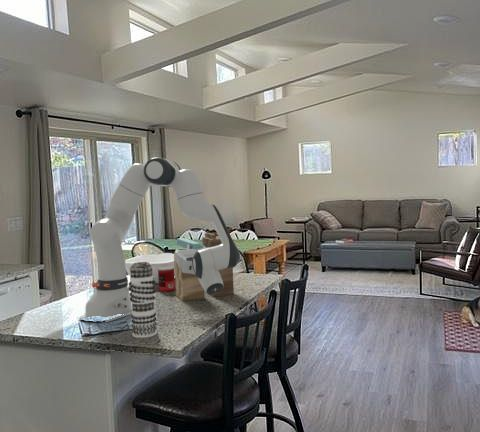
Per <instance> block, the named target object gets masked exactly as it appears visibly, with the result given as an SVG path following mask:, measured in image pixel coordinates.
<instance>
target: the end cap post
mask: <svg viewBox="0 0 480 432" xmlns="http://www.w3.org/2000/svg"><path fill="white" fill-rule="evenodd" d="M216 234H217V235H216ZM216 234H214V233H210V232H204V236H203V237H202V238H201V239H202V245H203V246H205V247H206V248H208V247H214V246H217V245H220V244H221V243H222V242H221V240H220V238H219V236H218V233H217V232H216ZM218 271H219V273H220V275H221V278H222V281H223V285H224V287H223V289H222V290H221V291H220V292H218V293H215V294H208V295H210V297H213V298H215V297H223V296H229V295H231V296H232V295H234V292H235V291H234V267H232V268H227V269H222V270H218Z"/></svg>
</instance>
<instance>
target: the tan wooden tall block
mask: <svg viewBox="0 0 480 432" xmlns="http://www.w3.org/2000/svg"><path fill="white" fill-rule="evenodd" d="M177 250H179V249H178V248H175V250H174V252H173V254H174V256H175V252H176V251H177ZM174 267H175V276H174V279H175V296H176V297H177V298H178V299H180V300H181V301H183V302H184V301H185V302H186V301H193V300H199V299H205V298H206V297H205V291H204V289H203V288H202V286H201V284H200V282H199V280H198V277H197V276H196V275H195V274H189V273H183V272H182V268H181V267H179V266H178V264H177V263H176V261H175V258H174Z"/></svg>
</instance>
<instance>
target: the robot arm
mask: <svg viewBox="0 0 480 432" xmlns="http://www.w3.org/2000/svg"><path fill="white" fill-rule="evenodd" d="M152 185H156V186H159V187H170V188H172V189H173V192H174V193H175V198H176V201H177V205H178V209H179V211H180V213H181V214H182V215H183V216H185V217H187V218H189V219H192V220H198V221H205V222H209V223H211V224H212V226H213V227H214V229H215V232H216V234H217V233H218V236H219V238H220V240H221V242H222V243H221V244H220V245H217V246H214V247H208V248H206V247H205V246H203V243H201V248H198V249H191V244H187V248H186V249H178V250H177V251H176V252H175V251H174V253H175V256H174V258H175V261H176V263H177V264H178V266H179V267H181V268H182V272H183V273H189V274H195V275H196V276H197V277H198V280H199V282H200V284H201V286H202V288H203V289H204V293H206V294H208V295H209V294H215V293H218V292H220V291H221V290H222V289H223V287H224V285H223V281H222V278H221V275H220V273H219V271H218V270H222V269H227V268H232V267H233V268H235V267H237V265H238V264H239V262H240V261H241V256H240V255H241V254H240V251H239V249H238V246H237V245H236V244H235V242H234V239H233V238H232V235H231V234H230V231H229V230H228V227H227V225H226V223H225V220H224V219H223V216H222V214H221V213H220V211H219V209H218V207H217V206H216V205H215V204H211V203H210V202H209V200H208V199H207V197H206V195H205V192H204V188H203V186H202V183H201V181H200V178H199V176H198V174H197V172H196V170H195V171H194V170H193V169H189V168H184V169H181V167H180V166H179V165H178V164H177V163H176V162H175V161H172V160H171V159H168V158H165V157H164V158H163V157H160V156H157V157H152V158H150V159H148V160H147V161H146V163H145V164H143V163H138V162H137V163H133V164H132V165H131V166H130V167H129V168H128V169H127V171H126V172H125V173H124V175H123V177H122V178H121V180H120V182H119V184H118V185H117V187H116V189H115V191H114V193H113V194H112V197H111V199H110V202H109V206H108V208H107V212H106V214H105V216H104V218H102V219H99V220H97V221H96V222H94V224H93V225H92V227H91V228H90V230H89V231H90V232H89V236H90V239H91V241H92V243H93V247H94V251H95V256H96V262H97V273H98V276H97V277H98V279H97V281H96V282H92V283H91V287H92V288H95V289H96V290H95V291H94V292H93V293H92V295H91V296H90V298H89V299H88V300H87V301H86V303H85V309H84V310H85V313H84V314H83V315H81V316H80V317H79V321H81V317H92V316H101V317H107V316H113V315H117V314H122V315H121V316H118V317H115V318H112V319H109V320H104V321H105V322H104V323H109V322H112V321H114V320H118V319H120V318H124V317H127V316H130V315H132V303H131V301H130V297H131V296H130V293H131V292H130V290H129V280H128V276H127V270H126V263H125V260H126V256H125V254H124V251H123V247H122V241H123V240H124V239H125V237H127V235H128V233H129V232H128V231H129V229H130V228H131V225H132V222H133V221H134V220H133V219H134V217H135V214H136V213H137V210H138V208H139V206H140V205H141V203H142V201H143V199H144V197H145V195H146V193H147V192H148V190H149V189H150V187H151V186H152ZM123 314H124V315H123ZM82 319H83V318H82Z"/></svg>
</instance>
